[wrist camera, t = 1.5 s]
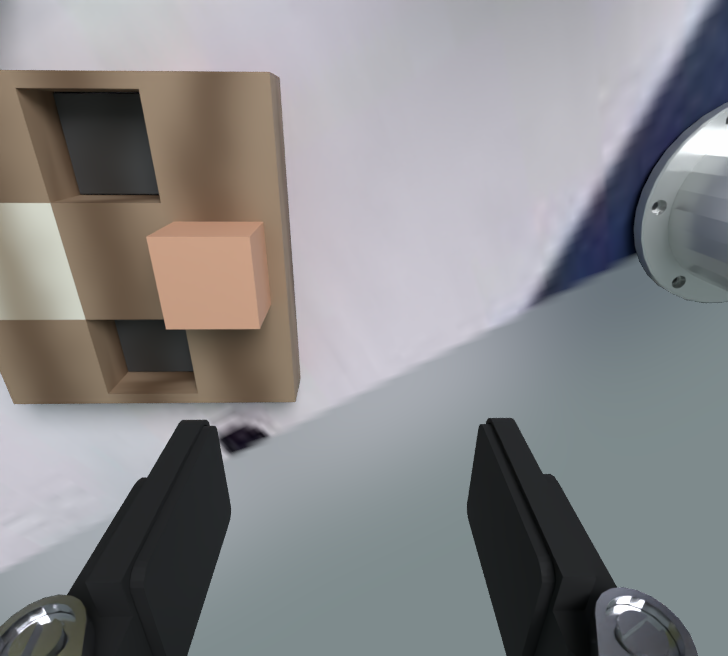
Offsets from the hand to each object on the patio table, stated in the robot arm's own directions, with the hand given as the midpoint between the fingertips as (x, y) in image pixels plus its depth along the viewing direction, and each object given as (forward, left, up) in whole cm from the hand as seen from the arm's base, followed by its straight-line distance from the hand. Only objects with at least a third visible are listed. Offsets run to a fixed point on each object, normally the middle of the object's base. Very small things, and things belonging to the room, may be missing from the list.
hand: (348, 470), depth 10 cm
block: (+8, 0, -17) cm, 18 cm away
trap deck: (+14, 0, -20) cm, 24 cm away
